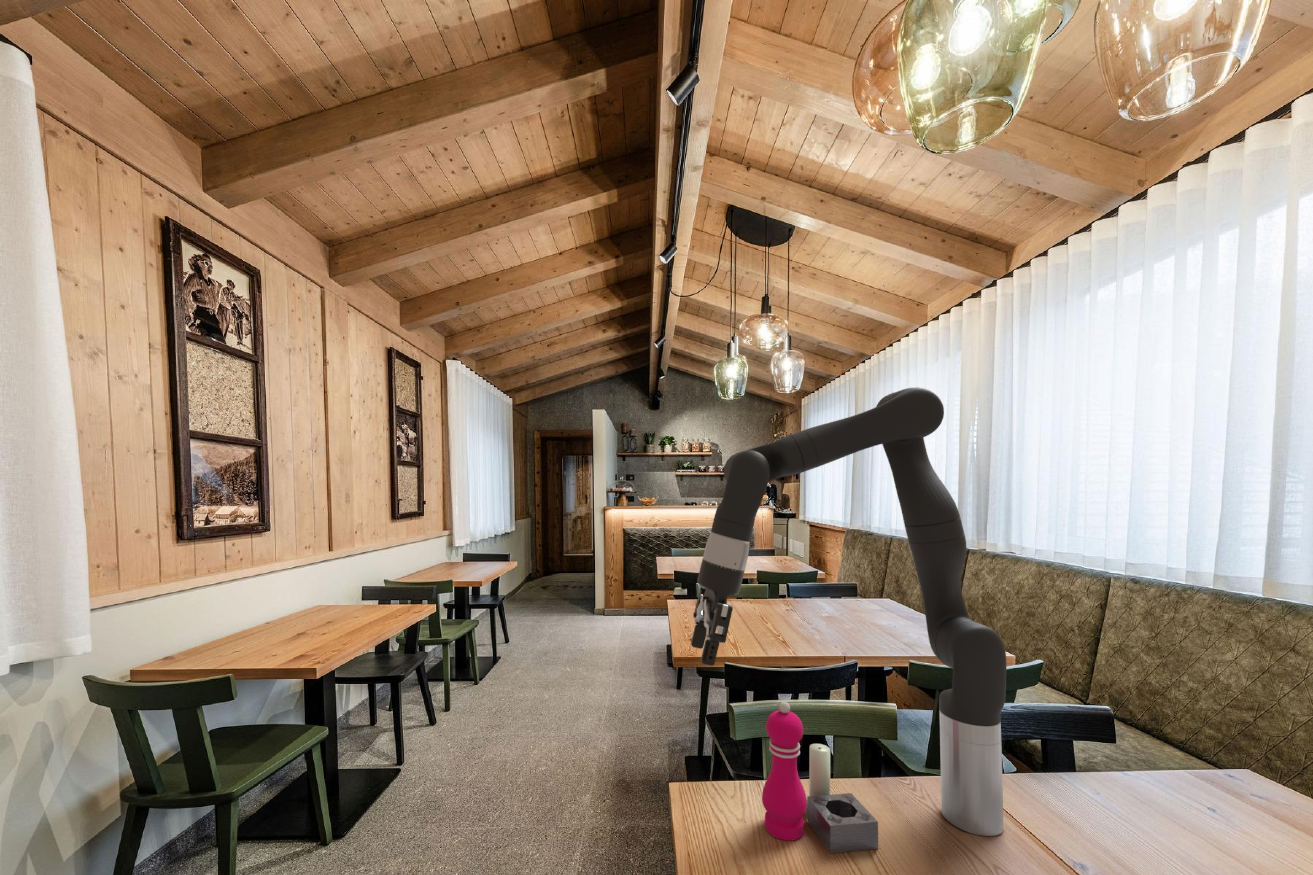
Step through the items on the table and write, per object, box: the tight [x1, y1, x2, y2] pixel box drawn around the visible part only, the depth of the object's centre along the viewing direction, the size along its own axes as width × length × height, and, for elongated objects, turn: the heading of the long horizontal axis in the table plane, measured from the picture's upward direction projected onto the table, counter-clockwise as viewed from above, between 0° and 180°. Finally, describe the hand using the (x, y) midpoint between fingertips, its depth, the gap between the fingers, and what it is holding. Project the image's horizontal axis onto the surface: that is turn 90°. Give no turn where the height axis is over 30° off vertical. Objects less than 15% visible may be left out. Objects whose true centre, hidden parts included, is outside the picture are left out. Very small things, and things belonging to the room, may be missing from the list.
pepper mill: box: [761, 701, 807, 842], centre depth 90 cm, size 7×7×20 cm
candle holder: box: [806, 792, 879, 854], centre depth 88 cm, size 8×8×4 cm
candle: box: [808, 743, 831, 796], centre depth 95 cm, size 4×4×10 cm
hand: (701, 655), depth 93 cm, fingers open, 8 cm apart
